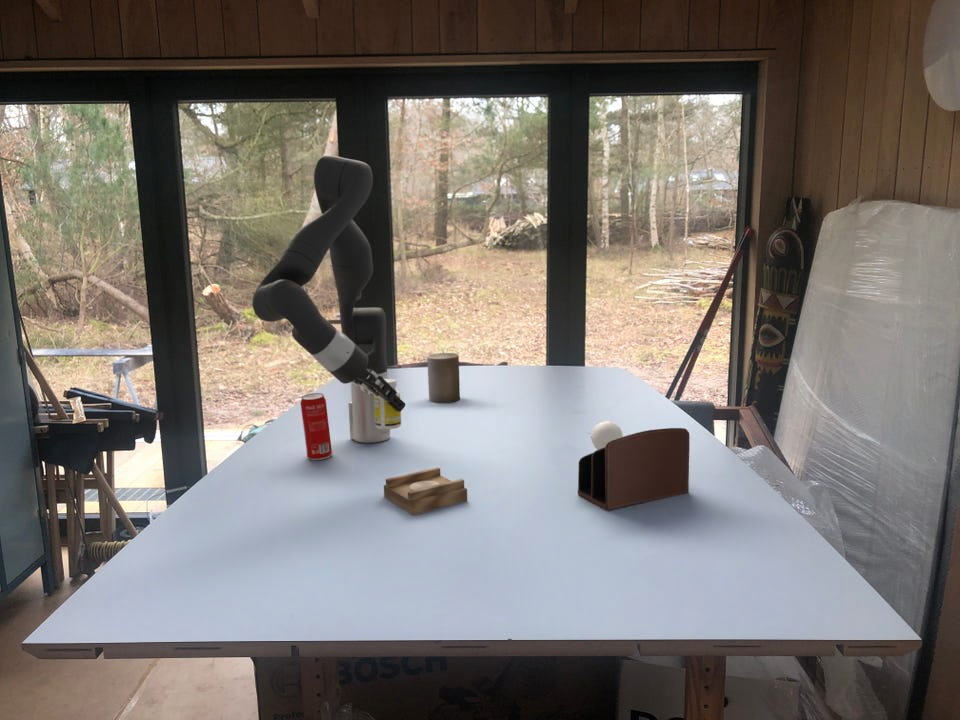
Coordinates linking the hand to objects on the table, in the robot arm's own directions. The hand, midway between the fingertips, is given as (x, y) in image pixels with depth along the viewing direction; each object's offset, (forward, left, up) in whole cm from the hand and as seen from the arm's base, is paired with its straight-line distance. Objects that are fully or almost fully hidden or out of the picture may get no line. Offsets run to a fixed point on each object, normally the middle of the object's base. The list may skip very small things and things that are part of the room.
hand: (395, 405), depth 159 cm
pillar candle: (-26, +68, -16) cm, 75 cm away
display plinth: (+11, -8, -16) cm, 21 cm away
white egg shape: (+34, +35, -16) cm, 52 cm away
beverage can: (-26, +6, -16) cm, 31 cm away
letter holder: (+48, +10, -17) cm, 52 cm away
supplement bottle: (-1, -2, -4) cm, 5 cm away
